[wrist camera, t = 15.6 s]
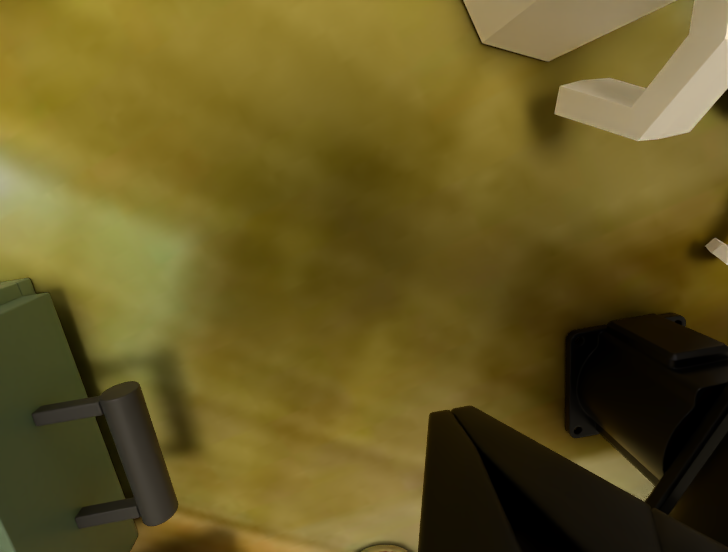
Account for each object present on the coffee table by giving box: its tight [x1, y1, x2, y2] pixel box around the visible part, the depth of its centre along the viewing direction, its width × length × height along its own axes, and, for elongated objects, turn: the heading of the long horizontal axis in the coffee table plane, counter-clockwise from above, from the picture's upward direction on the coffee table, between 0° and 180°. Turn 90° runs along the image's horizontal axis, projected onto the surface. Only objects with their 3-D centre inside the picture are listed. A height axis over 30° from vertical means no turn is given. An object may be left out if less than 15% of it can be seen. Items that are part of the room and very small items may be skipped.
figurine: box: [705, 238, 728, 265], centre depth 18 cm, size 5×12×7 cm
